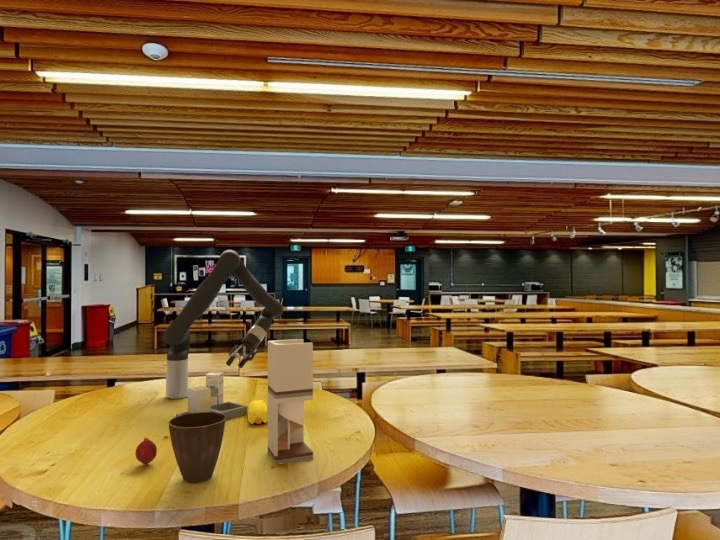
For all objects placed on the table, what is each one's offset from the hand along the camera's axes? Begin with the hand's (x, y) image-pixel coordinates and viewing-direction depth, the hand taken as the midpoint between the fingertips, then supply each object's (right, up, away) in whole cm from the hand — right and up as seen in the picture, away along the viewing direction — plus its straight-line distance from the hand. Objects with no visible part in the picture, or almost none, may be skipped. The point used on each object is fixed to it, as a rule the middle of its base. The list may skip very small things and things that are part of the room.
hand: (233, 365), depth 212 cm
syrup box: (-6, -16, -8) cm, 19 cm away
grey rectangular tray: (-2, -16, -24) cm, 28 cm away
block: (-6, -16, -28) cm, 33 cm away
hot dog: (+16, -16, -25) cm, 34 cm away
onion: (-7, -15, -71) cm, 73 cm away
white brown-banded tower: (+34, -15, -64) cm, 74 cm away
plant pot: (+11, -15, -80) cm, 82 cm away
